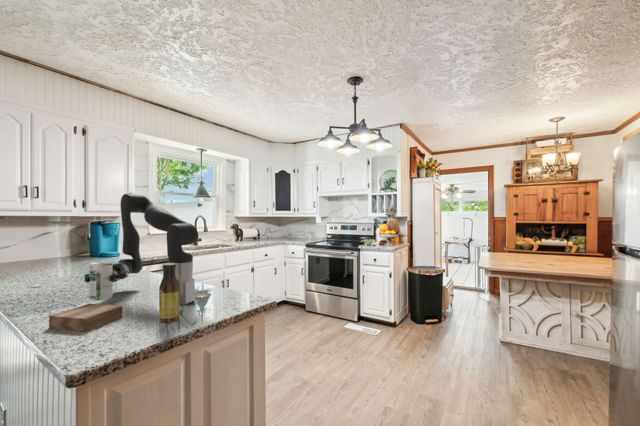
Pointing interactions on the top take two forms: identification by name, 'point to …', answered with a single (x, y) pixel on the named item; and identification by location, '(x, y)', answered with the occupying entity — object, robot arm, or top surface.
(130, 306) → the top surface
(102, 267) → the syrup box
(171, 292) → the sauce bottle
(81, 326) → the walnut plinth
